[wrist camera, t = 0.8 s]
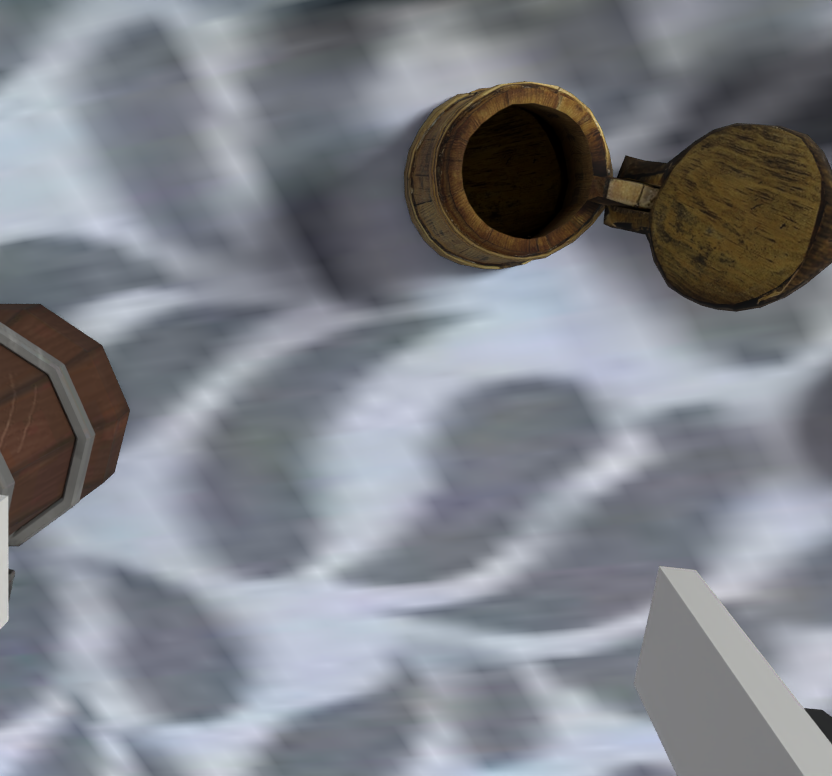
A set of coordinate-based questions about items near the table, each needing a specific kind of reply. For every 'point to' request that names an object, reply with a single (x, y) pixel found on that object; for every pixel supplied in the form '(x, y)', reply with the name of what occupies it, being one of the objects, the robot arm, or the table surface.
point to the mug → (53, 418)
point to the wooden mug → (620, 195)
